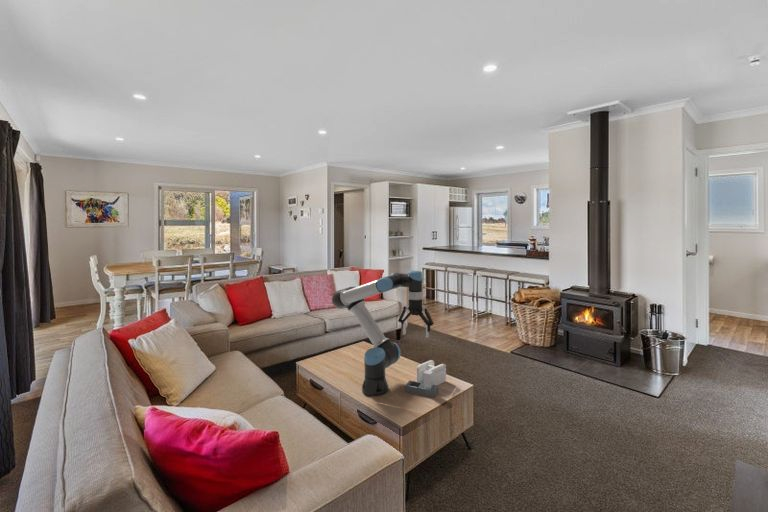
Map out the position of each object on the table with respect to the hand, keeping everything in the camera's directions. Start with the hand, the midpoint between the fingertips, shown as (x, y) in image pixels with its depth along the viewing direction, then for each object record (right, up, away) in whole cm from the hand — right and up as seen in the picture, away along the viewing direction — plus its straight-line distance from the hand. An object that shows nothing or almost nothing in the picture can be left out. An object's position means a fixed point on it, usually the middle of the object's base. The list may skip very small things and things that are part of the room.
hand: (415, 335), depth 207 cm
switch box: (+3, -32, 0) cm, 32 cm away
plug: (+7, -32, -2) cm, 32 cm away
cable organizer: (+11, -31, +11) cm, 34 cm away
